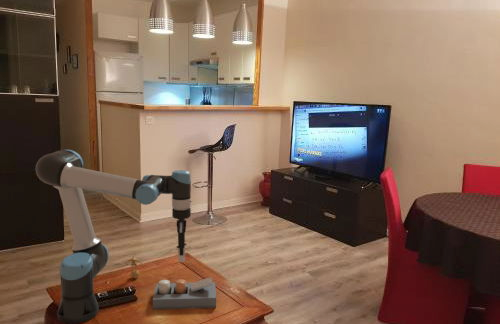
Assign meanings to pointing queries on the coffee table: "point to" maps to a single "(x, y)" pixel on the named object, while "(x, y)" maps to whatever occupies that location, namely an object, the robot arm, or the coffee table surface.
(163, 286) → the button left
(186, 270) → the coffee table surface
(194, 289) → the block
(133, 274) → the figurine
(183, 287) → the button right
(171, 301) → the grey slotted block
